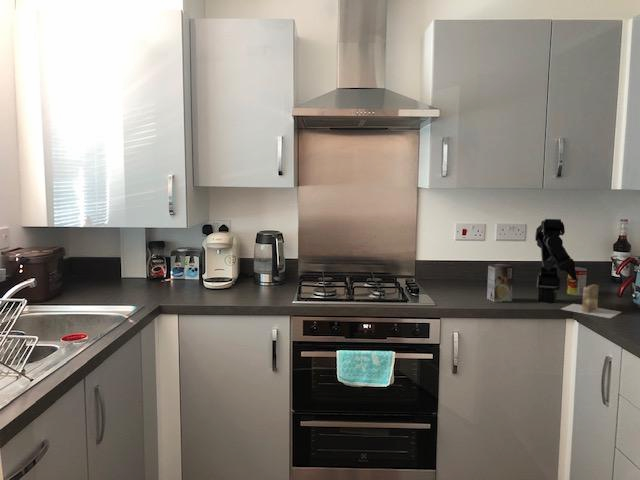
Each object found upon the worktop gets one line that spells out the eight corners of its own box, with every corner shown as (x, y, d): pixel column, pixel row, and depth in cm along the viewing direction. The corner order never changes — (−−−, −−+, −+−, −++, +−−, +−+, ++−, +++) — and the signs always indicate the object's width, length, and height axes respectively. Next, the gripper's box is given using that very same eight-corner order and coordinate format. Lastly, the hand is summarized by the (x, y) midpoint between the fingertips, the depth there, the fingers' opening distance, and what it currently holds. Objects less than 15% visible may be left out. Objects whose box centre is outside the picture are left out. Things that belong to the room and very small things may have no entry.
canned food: (573, 291, 255) (575, 266, 254) (588, 294, 248) (590, 269, 247) (563, 292, 251) (564, 268, 250) (578, 296, 244) (579, 270, 243)
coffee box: (504, 298, 239) (506, 263, 237) (512, 301, 233) (514, 265, 231) (486, 299, 238) (487, 264, 236) (493, 302, 231) (495, 266, 229)
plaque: (581, 311, 214) (582, 287, 213) (590, 307, 221) (591, 284, 219) (588, 312, 212) (589, 288, 211) (597, 308, 219) (598, 285, 218)
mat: (560, 310, 218) (560, 309, 218) (573, 304, 228) (573, 303, 227) (609, 319, 204) (609, 318, 204) (621, 313, 214) (621, 311, 214)
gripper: (536, 254, 234) (555, 285, 232) (538, 259, 217) (558, 292, 215) (560, 242, 230) (580, 273, 229) (564, 245, 213) (585, 279, 211)
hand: (575, 279), depth 221 cm, fingers closed
